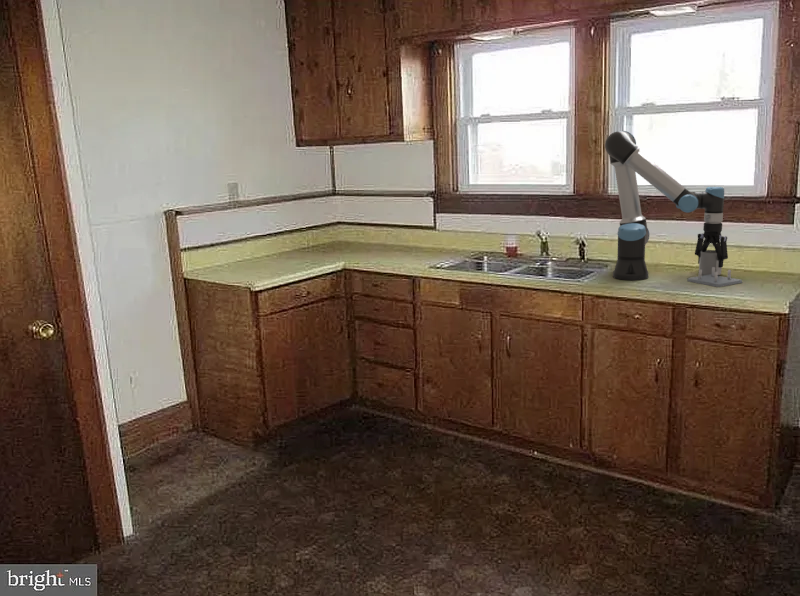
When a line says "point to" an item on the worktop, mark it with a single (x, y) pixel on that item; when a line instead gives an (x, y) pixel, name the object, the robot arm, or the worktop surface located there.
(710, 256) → the cup
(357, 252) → the worktop surface
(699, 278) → the grey pegged base plate
